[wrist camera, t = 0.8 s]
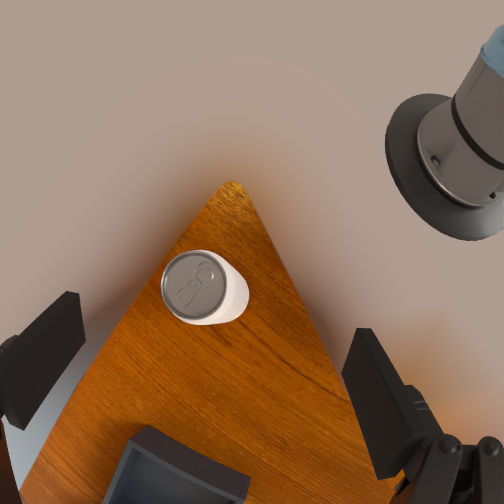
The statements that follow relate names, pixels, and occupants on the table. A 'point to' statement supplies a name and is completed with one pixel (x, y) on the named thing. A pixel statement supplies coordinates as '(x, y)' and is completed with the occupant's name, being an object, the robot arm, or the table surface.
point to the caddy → (171, 475)
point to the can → (203, 288)
